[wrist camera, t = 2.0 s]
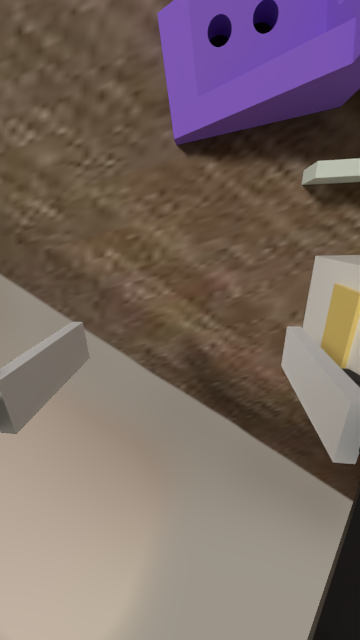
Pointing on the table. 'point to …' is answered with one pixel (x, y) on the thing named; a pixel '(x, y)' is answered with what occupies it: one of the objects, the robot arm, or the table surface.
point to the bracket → (256, 62)
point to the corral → (332, 172)
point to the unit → (335, 309)
